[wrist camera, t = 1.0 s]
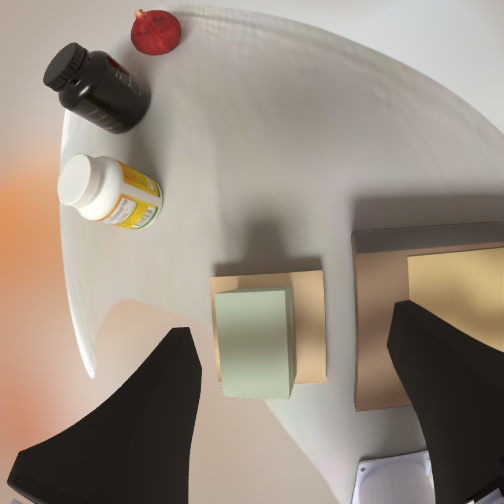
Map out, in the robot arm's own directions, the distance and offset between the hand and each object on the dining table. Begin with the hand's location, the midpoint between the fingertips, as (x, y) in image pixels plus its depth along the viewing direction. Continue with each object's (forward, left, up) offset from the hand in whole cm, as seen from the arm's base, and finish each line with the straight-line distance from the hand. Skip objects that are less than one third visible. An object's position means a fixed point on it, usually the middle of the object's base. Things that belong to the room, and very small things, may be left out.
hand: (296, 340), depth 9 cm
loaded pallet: (-2, +3, -14) cm, 14 cm away
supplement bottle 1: (+22, +18, -14) cm, 32 cm away
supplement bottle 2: (+10, +15, -14) cm, 23 cm away
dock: (-2, -13, -14) cm, 19 cm away
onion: (+30, +13, -14) cm, 35 cm away
